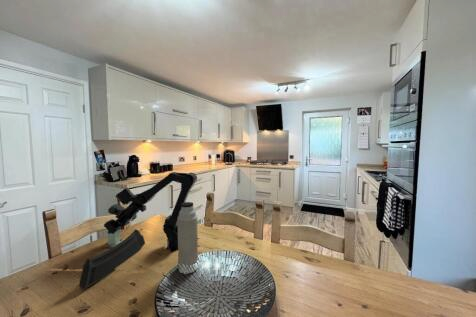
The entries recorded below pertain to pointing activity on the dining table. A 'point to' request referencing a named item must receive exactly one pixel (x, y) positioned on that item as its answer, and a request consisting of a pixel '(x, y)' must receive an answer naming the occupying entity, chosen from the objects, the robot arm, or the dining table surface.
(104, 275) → the magazine
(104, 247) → the rack
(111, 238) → the pale green block
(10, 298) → the dining table surface
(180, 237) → the thermos bottle
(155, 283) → the dining table surface
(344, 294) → the dining table surface
